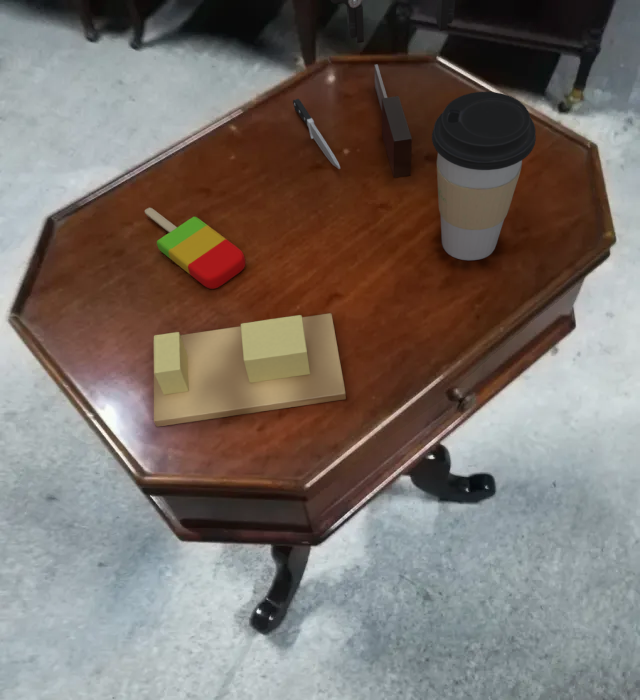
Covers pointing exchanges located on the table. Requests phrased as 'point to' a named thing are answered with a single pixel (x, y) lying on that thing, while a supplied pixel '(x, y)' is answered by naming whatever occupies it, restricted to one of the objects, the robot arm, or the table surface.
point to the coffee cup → (479, 168)
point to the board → (233, 383)
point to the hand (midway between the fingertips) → (400, 32)
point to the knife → (315, 132)
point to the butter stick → (274, 349)
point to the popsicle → (199, 250)
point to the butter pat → (170, 363)
